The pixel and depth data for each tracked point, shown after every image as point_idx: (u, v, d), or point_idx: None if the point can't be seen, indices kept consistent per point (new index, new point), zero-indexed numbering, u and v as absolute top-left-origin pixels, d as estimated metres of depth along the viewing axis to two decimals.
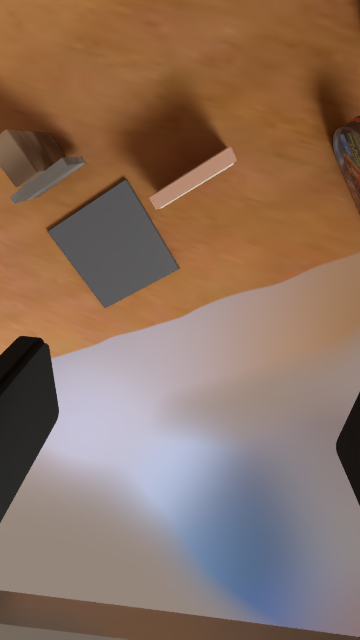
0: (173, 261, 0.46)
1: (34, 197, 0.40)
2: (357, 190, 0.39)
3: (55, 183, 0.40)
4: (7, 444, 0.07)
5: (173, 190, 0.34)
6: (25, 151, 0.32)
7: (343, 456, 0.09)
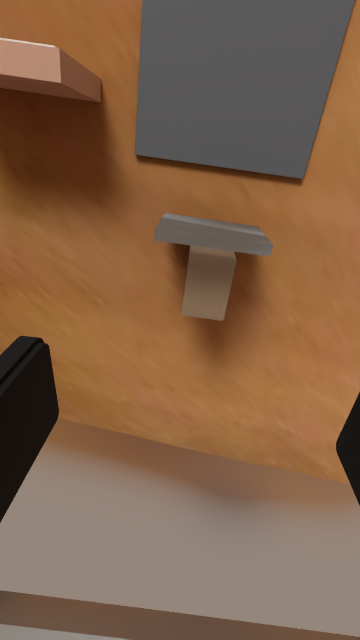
0: None
1: (259, 230, 0.25)
2: None
3: (219, 222, 0.25)
4: (7, 444, 0.07)
5: (10, 60, 0.17)
6: (185, 281, 0.21)
7: (343, 456, 0.09)
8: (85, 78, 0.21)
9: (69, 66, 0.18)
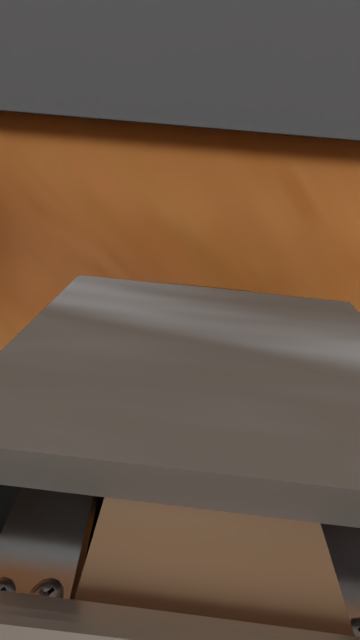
0: None
1: None
2: None
3: (235, 302, 0.08)
4: None
5: None
6: None
7: None
8: None
9: None
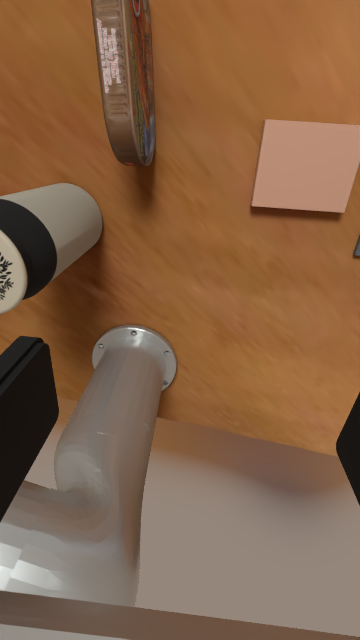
0: None
1: None
2: (146, 68, 0.29)
3: None
4: (7, 444, 0.07)
5: None
6: None
7: (343, 456, 0.09)
8: None
9: None
